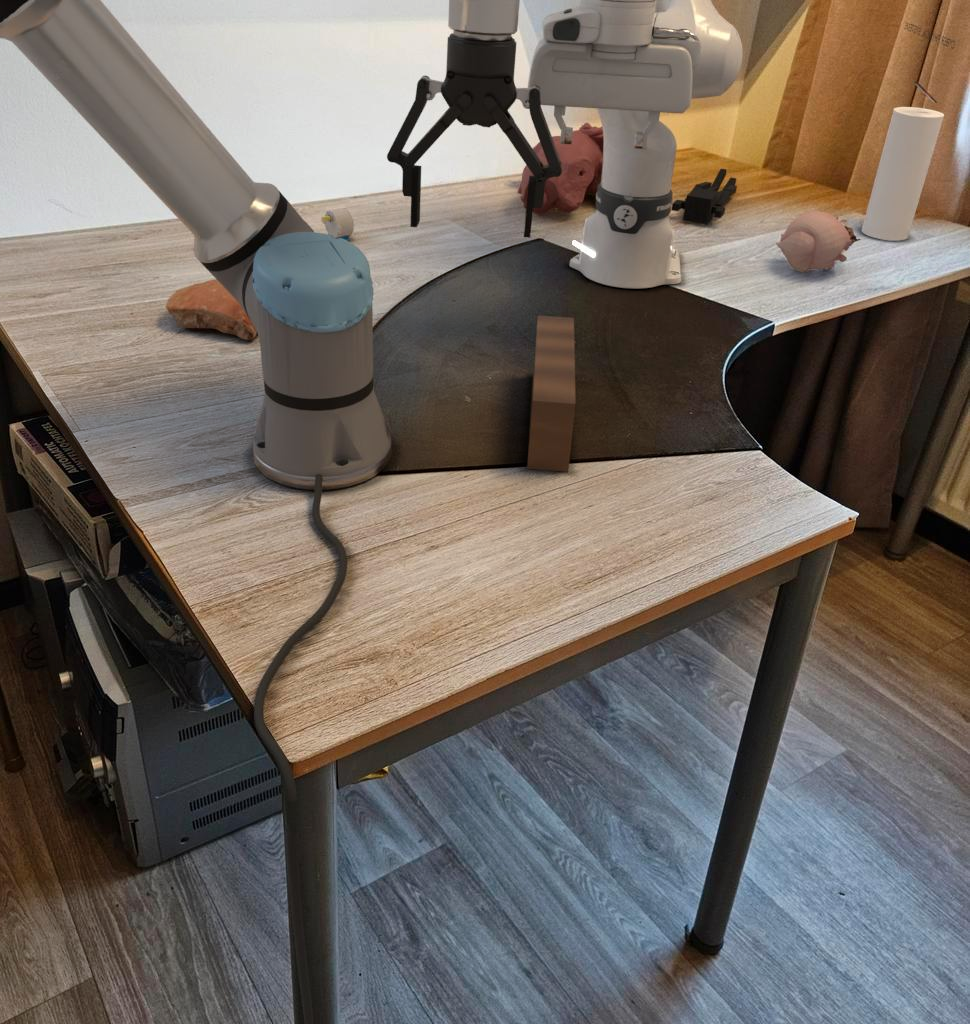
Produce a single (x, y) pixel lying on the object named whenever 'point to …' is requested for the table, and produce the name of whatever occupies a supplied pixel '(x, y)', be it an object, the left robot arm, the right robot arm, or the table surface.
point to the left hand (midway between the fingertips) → (471, 229)
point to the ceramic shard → (210, 309)
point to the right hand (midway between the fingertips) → (602, 145)
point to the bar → (552, 395)
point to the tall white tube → (902, 168)
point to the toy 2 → (816, 241)
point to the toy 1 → (706, 200)
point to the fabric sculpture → (570, 171)
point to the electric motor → (339, 223)
